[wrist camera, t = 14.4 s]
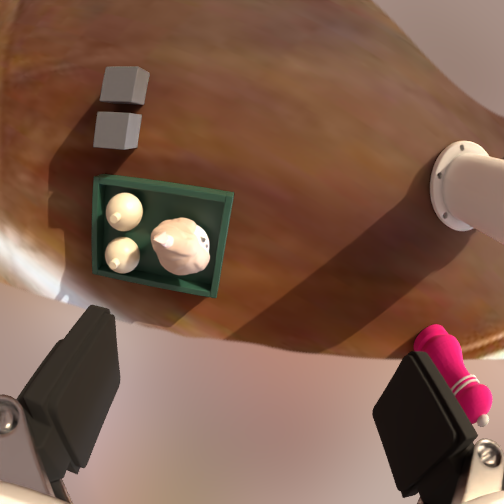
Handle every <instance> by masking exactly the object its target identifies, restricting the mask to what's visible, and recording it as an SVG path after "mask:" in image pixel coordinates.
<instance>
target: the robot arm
mask: <svg viewBox="0 0 504 504" xmlns="http://www.w3.org/2000/svg"><path fill="white" fill-rule="evenodd" d="M430 196H431V202H432V205H433V208H434V211H435V213H436V214H437V216H438V218H439V219H440V220H441V221H442V222H443V223H444V224H445V225H446V226H448V227H450V228H452V229H454V230H457V231H467V230H471V229H473V228H475V229H477V230H479V231H481V232H482V233H484V234H486V235H488V236H489V237H491V238H493V239H495V240H496V241H498V242H500V243H501V244H503V245H504V160H502V159H497V158H493V157H489V155H488V154H487V152H486V151H485V150H484V149H483V148H482V147H480V146H479V145H478V144H475V143H473V142H469V141H458V142H454V143H452V144H450V145H449V146H447V147H446V148H445V149H444V150H443V151H442V152H441V153H440V155H439V156H438V158H437V160H436V162H435V164H434V166H433V170H432V174H431V180H430ZM119 384H120V370H119V361H118V351H117V339H116V326H115V317H114V315H112V314H110V311H109V309H107V308H103V307H99V306H95V305H90V306H89V307H88V308H87V310H86V311H85V312H84V313H83V315H82V316H81V317H80V318H79V320H78V321H77V322H76V324H75V325H74V326H73V327H72V329H71V330H70V331H69V333H68V334H67V335H66V337H65V338H64V339H62V340H59V341H58V342H57V343H56V345H55V346H54V347H53V348H52V350H51V351H50V352H49V354H48V355H47V356H46V358H45V359H44V361H43V362H42V363H41V365H40V366H39V368H38V369H37V370H36V372H35V373H34V374H33V376H32V377H31V379H30V380H29V382H28V383H27V384H26V386H25V388H24V389H23V390H22V392H21V393H20V395H19V396H18V398H17V399H14V398H13V397H11V396H8V395H0V504H73V503H72V501H71V499H70V496H69V494H68V492H67V490H66V487H65V485H64V483H63V480H62V478H63V477H64V475H65V473H66V470H68V471H70V472H73V473H75V474H78V472H79V469H80V467H82V468H85V467H86V465H87V463H88V460H89V458H90V455H91V453H92V450H93V447H94V445H95V443H96V440H97V437H98V435H99V433H100V430H101V428H102V425H103V423H104V420H105V418H106V415H107V413H108V411H109V408H110V406H111V404H112V401H113V399H114V397H115V394H116V392H117V390H118V388H119ZM373 418H374V421H375V424H376V426H377V430H378V432H379V435H380V438H381V441H382V444H383V447H384V450H385V453H386V456H387V459H388V462H389V465H390V468H391V471H392V474H393V477H394V480H395V483H396V487H397V489H398V490H399V491H401V493H402V496H403V498H405V497H409V496H413V495H416V494H417V493H418V492H419V494H420V498H419V500H418V503H417V504H504V453H503V451H502V449H501V448H500V446H499V445H498V444H497V443H496V442H494V441H493V440H490V439H481V440H479V441H478V442H477V443H476V444H475V445H474V444H473V441H474V440H475V439H476V438H477V436H478V435H477V433H476V431H475V429H474V427H473V426H472V424H471V422H470V420H469V419H468V417H467V415H466V414H465V412H464V410H463V409H462V407H461V405H460V404H459V402H458V400H457V399H456V397H455V395H454V394H453V392H452V390H451V389H450V387H449V386H448V384H447V383H446V381H445V379H444V378H443V376H442V375H441V373H440V372H439V370H438V369H437V367H436V365H435V364H434V362H433V361H432V359H431V358H430V356H429V355H428V354H427V353H426V352H422V351H411V352H409V353H408V355H406V356H405V357H404V358H403V359H402V361H401V363H400V365H399V367H398V368H397V370H396V372H395V374H394V375H393V377H392V379H391V380H390V382H389V384H388V386H387V387H386V389H385V391H384V392H383V394H382V395H381V397H380V398H379V400H378V402H377V403H376V405H375V406H374V408H373Z"/></svg>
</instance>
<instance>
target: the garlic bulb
mask: <svg viewBox="0 0 504 504" xmlns="http://www.w3.org/2000/svg"><path fill="white" fill-rule="evenodd" d="M151 243H152V247H153V249H154V251H155V252H156V253H157V256H158V259H159V261H160V264H161V265H162V266H163V267H164V268H165V269H166V270H167V271H169V272H171V273H173V274H176V275H187V274H191V273H197V272H199V271H202V270H204V269H205V267H206V266H207V264H208V262H209V260H210V255H209V239H208V237H207V234H206V232H205V231H204V230H203V229H202V228H201V227H200V226H198V225H196V223H195V222H194V221H192V220H190V219H187V218H182V217H181V218H176V219H173V220H165V221H163V222H161V223H160V224H159V225H158V227H156V228H155V229H154V230H153V231H152V233H151Z"/></svg>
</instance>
